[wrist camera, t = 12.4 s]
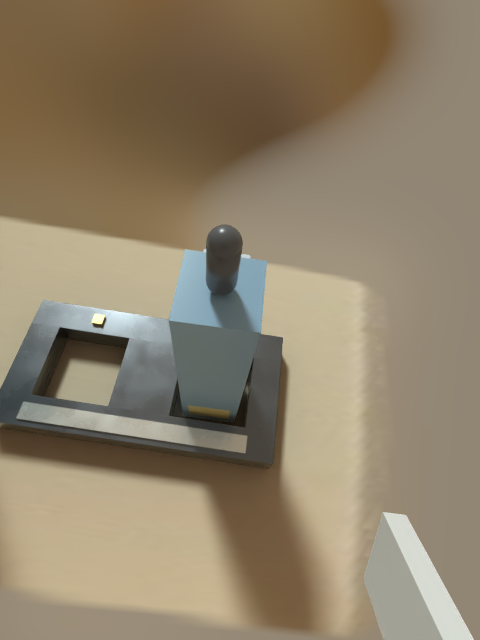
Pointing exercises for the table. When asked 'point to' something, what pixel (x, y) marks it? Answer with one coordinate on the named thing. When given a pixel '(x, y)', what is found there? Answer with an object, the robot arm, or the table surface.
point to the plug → (216, 324)
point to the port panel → (135, 390)
